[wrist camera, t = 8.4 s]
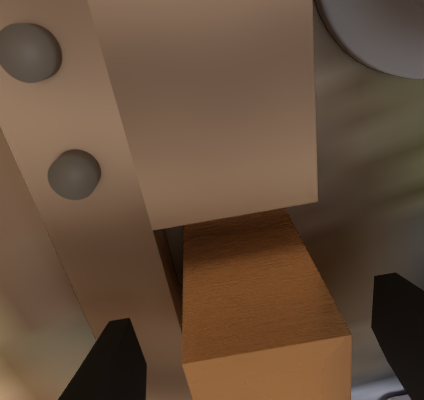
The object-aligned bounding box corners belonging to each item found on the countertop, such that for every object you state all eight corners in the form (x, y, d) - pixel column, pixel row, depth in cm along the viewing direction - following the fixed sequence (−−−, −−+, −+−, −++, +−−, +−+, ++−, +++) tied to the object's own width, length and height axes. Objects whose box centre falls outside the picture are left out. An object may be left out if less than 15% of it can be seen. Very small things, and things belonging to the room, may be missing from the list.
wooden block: (287, 277, 14) (350, 434, 9) (201, 292, 14) (210, 457, 9) (280, 201, 12) (352, 334, 7) (184, 218, 13) (182, 364, 7)
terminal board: (309, 351, 16) (328, 402, 14) (137, 380, 16) (129, 435, 14) (287, -86, 9) (319, -122, 7) (-27, -27, 9) (-94, -43, 7)
